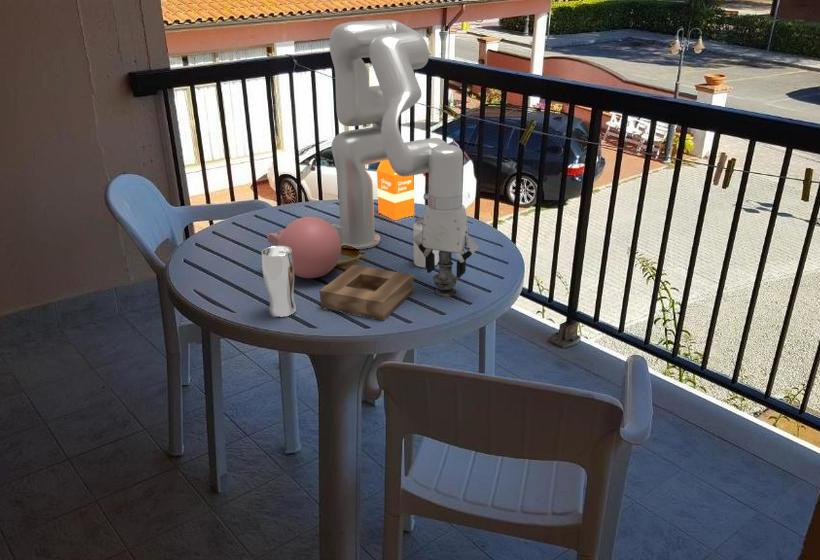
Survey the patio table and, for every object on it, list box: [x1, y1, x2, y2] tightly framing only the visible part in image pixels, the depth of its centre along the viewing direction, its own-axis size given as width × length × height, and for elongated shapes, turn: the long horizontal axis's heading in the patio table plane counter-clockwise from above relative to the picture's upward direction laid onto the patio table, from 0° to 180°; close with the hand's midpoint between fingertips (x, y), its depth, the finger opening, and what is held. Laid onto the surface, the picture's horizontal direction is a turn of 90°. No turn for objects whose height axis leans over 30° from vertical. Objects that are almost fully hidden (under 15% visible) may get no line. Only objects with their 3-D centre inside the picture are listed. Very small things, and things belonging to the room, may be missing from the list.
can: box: [412, 216, 440, 269], centre depth 177 cm, size 6×6×12 cm
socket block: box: [319, 264, 414, 322], centre depth 160 cm, size 16×16×4 cm
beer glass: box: [261, 245, 297, 317], centre depth 153 cm, size 7×7×15 cm
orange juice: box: [376, 160, 415, 221], centre depth 211 cm, size 8×9×20 cm
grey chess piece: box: [432, 251, 459, 298], centre depth 162 cm, size 6×6×12 cm
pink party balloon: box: [266, 216, 342, 279], centre depth 172 cm, size 15×20×15 cm
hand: (445, 272), depth 162 cm, fingers open, 6 cm apart
